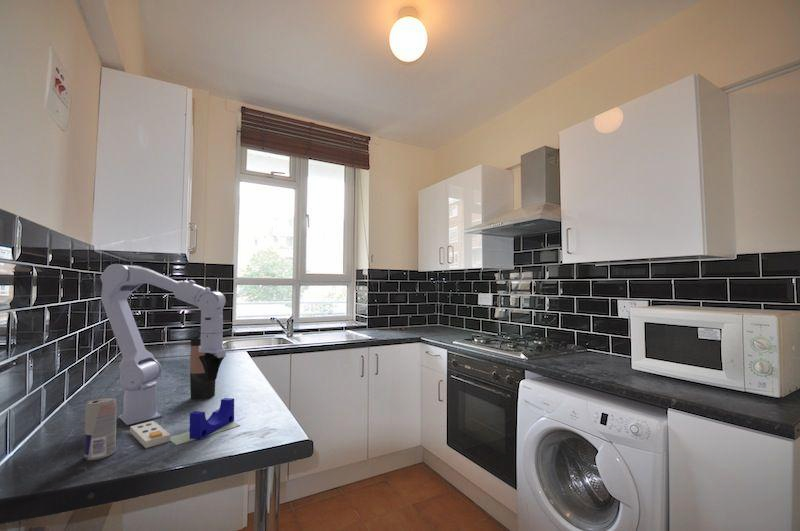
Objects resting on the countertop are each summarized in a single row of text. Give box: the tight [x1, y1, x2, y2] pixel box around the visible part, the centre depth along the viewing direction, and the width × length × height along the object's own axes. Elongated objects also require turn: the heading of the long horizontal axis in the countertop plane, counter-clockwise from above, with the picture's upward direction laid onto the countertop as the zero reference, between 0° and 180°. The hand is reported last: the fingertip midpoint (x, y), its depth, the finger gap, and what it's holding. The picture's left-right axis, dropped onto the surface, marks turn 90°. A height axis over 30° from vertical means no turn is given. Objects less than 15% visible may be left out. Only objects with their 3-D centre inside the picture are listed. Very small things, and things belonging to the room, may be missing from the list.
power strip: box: [129, 420, 171, 449], centre depth 89 cm, size 14×5×2 cm, turn 49°
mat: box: [169, 420, 241, 446], centre depth 91 cm, size 6×15×1 cm, turn 139°
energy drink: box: [83, 396, 118, 461], centre depth 80 cm, size 5×5×12 cm
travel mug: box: [189, 335, 216, 401], centre depth 121 cm, size 8×8×20 cm
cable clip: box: [189, 397, 235, 440], centre depth 93 cm, size 12×4×6 cm, turn 166°
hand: (211, 379), depth 104 cm, fingers closed
